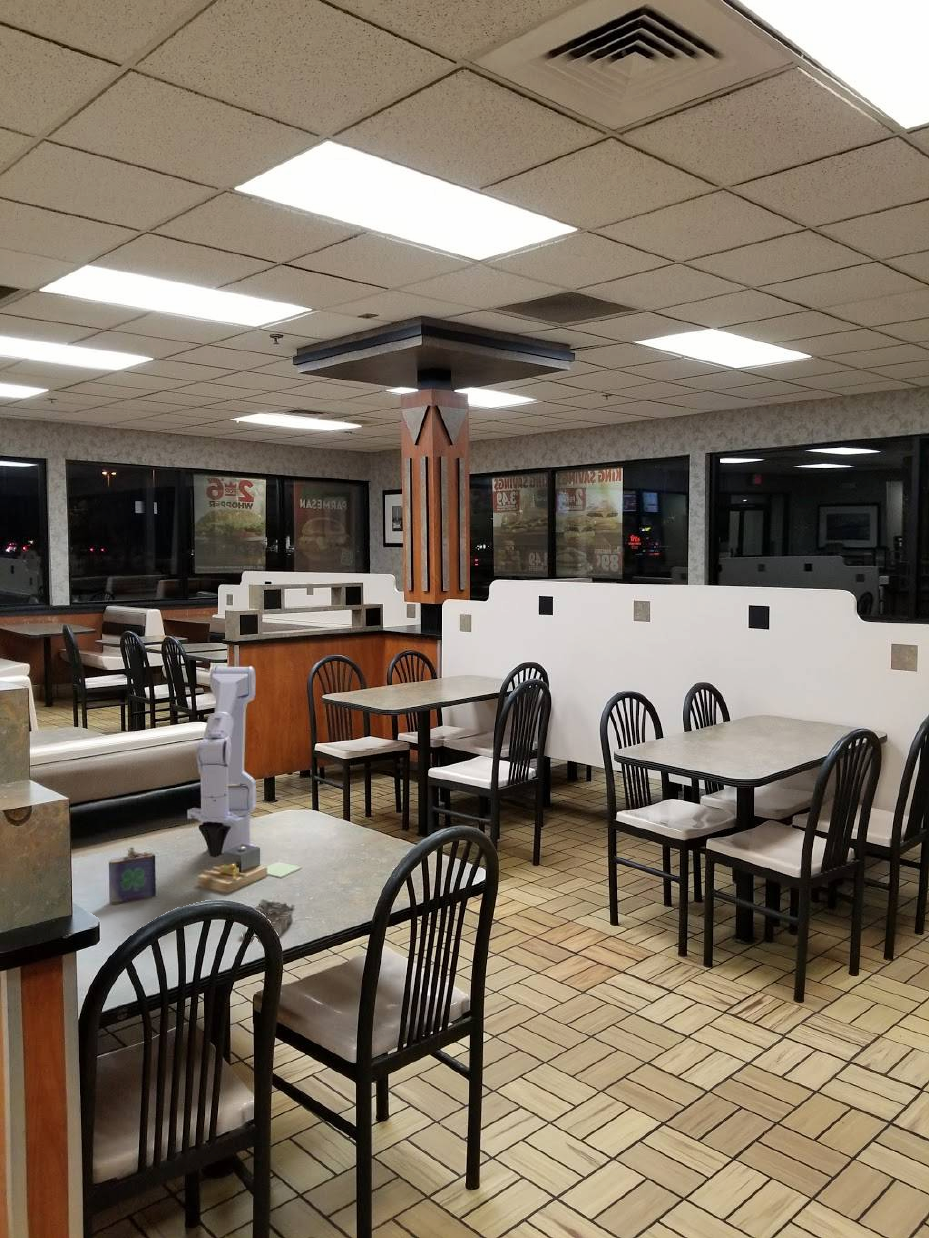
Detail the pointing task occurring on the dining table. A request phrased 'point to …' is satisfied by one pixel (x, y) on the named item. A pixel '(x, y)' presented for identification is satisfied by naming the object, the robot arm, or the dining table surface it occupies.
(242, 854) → the metal box with knob
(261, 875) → the wooden tray with rails
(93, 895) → the dining table surface
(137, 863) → the flask
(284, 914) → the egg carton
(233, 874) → the bolt
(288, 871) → the mat
